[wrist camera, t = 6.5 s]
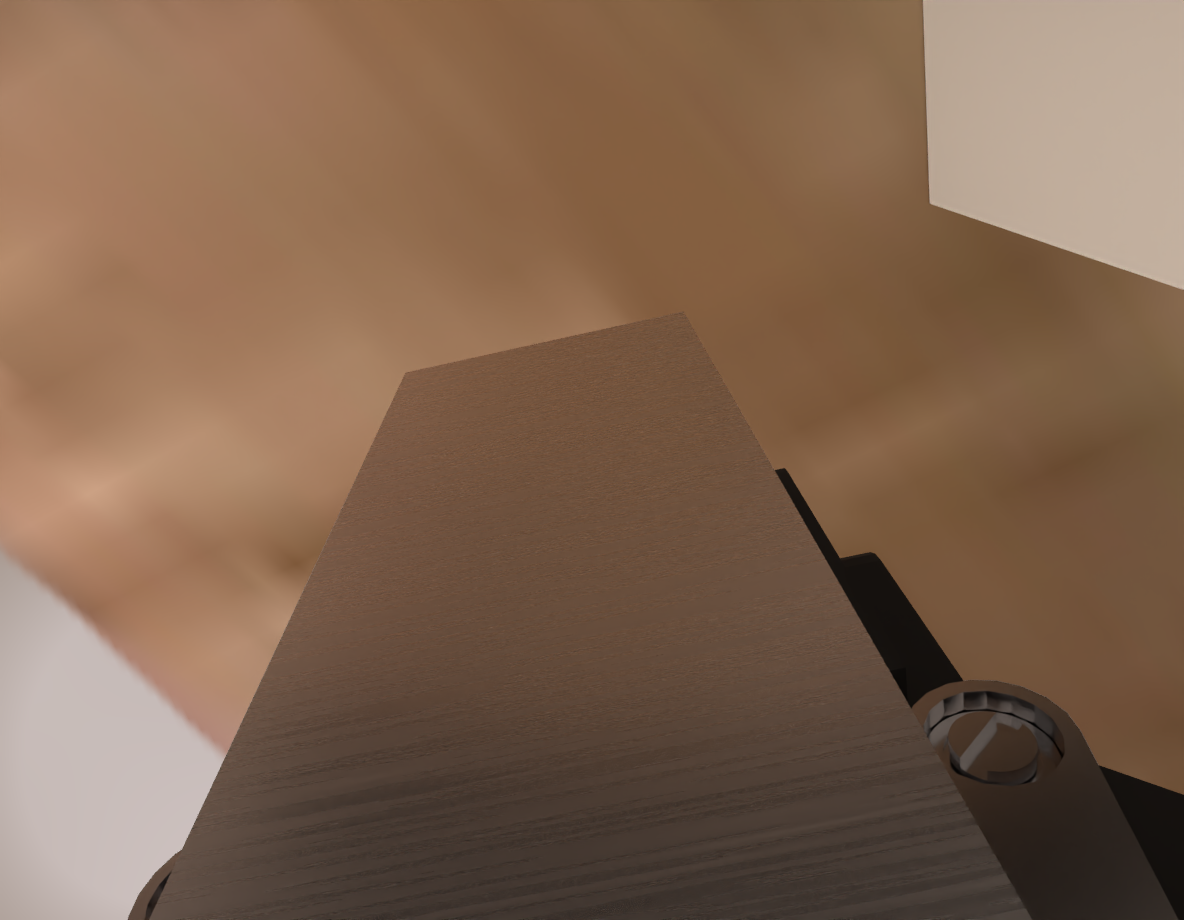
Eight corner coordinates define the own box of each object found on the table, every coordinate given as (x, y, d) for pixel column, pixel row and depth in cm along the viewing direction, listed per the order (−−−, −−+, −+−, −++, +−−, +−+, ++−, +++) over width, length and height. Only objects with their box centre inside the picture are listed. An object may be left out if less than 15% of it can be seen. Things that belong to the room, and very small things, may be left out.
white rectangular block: (684, 311, 12) (1169, 1158, 3) (740, 650, 14) (1085, 1679, 5) (405, 372, 12) (-61, 1368, 3) (510, 696, 14) (449, 1772, 5)
